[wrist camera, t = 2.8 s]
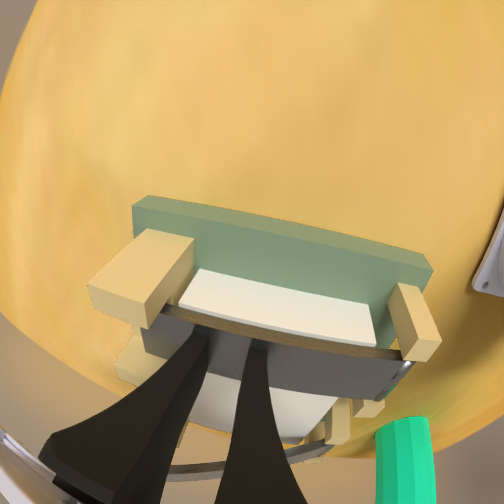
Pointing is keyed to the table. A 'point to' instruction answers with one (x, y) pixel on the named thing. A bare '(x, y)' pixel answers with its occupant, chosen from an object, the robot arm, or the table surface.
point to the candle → (405, 463)
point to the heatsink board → (291, 254)
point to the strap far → (216, 468)
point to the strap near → (281, 355)
